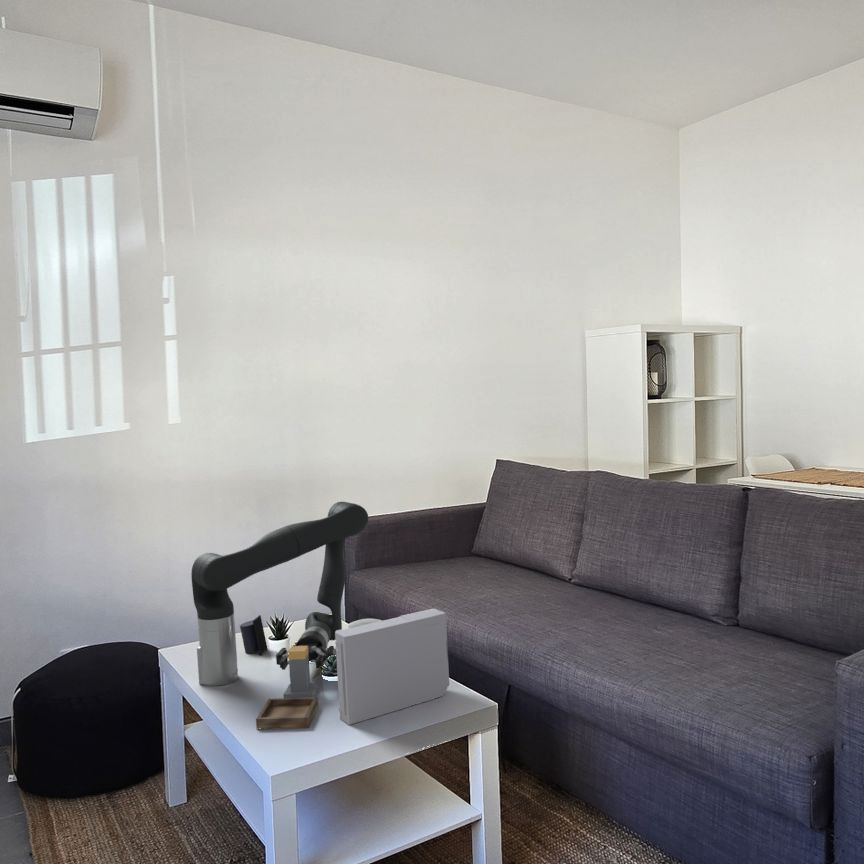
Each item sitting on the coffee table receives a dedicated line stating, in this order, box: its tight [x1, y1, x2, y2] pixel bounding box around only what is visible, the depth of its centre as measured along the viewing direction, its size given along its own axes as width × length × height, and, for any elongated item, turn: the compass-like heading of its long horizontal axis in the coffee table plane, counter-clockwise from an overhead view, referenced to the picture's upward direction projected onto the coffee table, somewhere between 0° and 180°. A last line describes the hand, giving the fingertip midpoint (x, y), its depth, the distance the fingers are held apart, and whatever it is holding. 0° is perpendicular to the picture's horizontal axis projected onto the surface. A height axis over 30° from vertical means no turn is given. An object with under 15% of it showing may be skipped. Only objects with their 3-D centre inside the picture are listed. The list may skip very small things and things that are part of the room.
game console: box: [334, 608, 450, 726], centre depth 184 cm, size 6×27×20 cm, turn 123°
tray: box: [255, 696, 319, 730], centre depth 180 cm, size 12×12×2 cm
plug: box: [283, 645, 319, 698], centre depth 194 cm, size 7×7×12 cm
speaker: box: [239, 615, 268, 657], centre depth 230 cm, size 8×6×10 cm
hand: (300, 665), depth 195 cm, fingers open, 8 cm apart
